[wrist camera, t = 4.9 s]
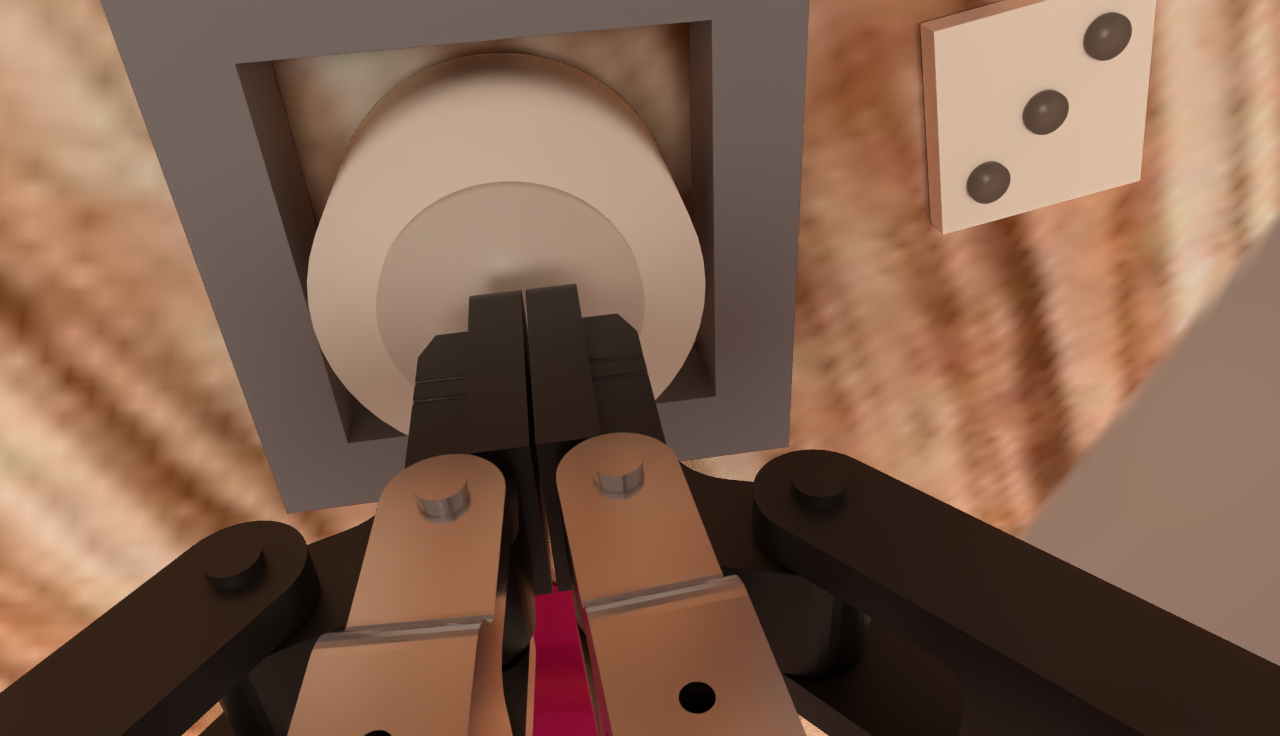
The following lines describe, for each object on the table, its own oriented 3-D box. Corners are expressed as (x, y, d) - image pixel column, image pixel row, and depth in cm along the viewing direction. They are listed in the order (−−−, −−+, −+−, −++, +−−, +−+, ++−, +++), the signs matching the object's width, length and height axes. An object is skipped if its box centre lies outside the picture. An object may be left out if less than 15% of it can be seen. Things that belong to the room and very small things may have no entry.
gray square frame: (777, -114, 15) (814, -99, 13) (764, 390, 20) (788, 447, 19) (133, -64, 14) (86, -40, 12) (303, 449, 19) (287, 513, 18)
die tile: (1138, -38, 16) (1164, -30, 16) (1122, 169, 19) (1144, 183, 18) (920, 23, 16) (937, 33, 16) (930, 222, 19) (946, 238, 18)
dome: (666, 36, 15) (706, 97, 12) (678, 343, 18) (711, 444, 16) (294, 71, 15) (250, 142, 12) (376, 380, 18) (356, 491, 15)
